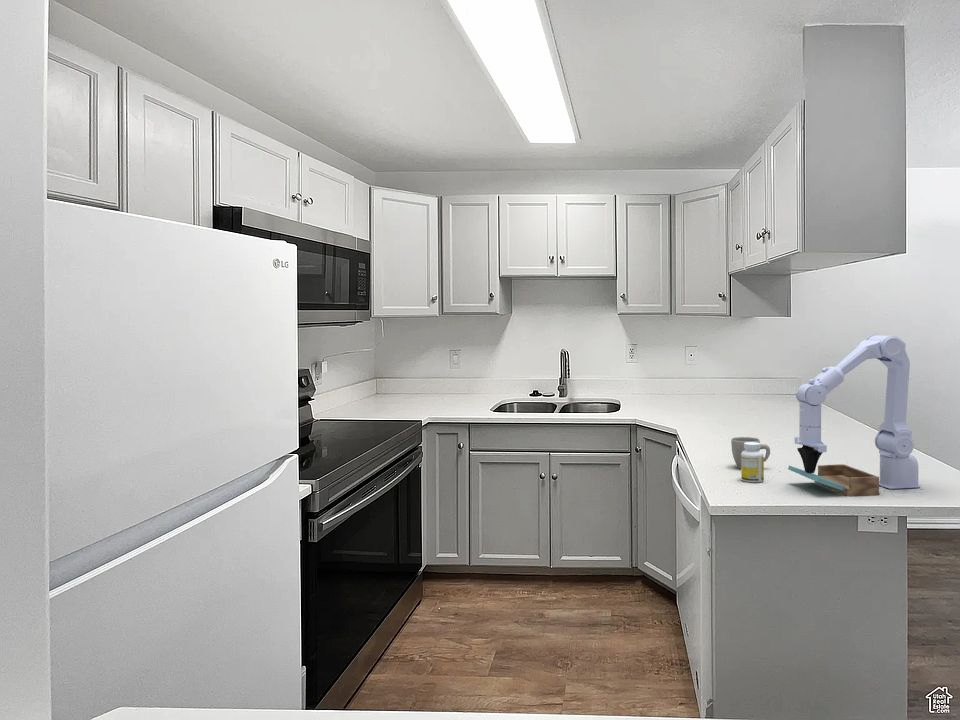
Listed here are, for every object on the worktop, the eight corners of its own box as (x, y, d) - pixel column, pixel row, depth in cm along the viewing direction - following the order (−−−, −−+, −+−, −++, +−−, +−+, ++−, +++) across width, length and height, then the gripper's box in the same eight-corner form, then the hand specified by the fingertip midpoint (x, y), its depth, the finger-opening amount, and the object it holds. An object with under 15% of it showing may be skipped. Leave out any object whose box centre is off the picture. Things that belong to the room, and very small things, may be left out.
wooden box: (843, 480, 227) (843, 464, 227) (879, 494, 209) (879, 477, 209) (814, 481, 226) (814, 465, 226) (847, 496, 209) (847, 478, 208)
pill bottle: (758, 478, 234) (758, 441, 233) (767, 482, 227) (767, 444, 226) (738, 478, 233) (737, 441, 233) (746, 483, 227) (745, 445, 226)
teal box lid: (814, 474, 226) (789, 465, 225) (846, 487, 209) (818, 477, 208) (813, 477, 226) (787, 469, 225) (845, 491, 209) (817, 482, 208)
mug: (730, 470, 246) (730, 440, 246) (732, 464, 254) (732, 436, 254) (770, 472, 242) (769, 442, 241) (770, 466, 250) (770, 437, 249)
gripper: (784, 422, 223) (784, 468, 224) (809, 430, 208) (809, 478, 209) (807, 421, 223) (807, 467, 224) (834, 429, 209) (833, 477, 210)
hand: (809, 472), depth 217 cm, fingers closed, pressing on teal box lid
